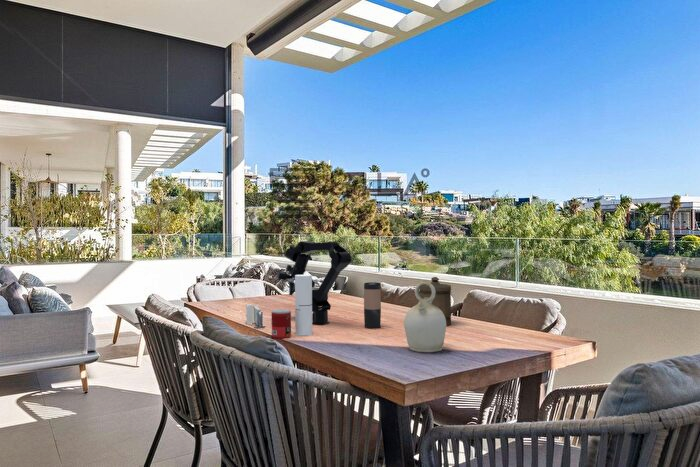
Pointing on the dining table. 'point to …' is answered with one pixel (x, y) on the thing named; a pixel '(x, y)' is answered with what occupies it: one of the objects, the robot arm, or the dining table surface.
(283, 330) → the canned food
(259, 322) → the hinge post
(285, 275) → the robot arm
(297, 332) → the cylindrical container
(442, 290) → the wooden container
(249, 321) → the latch post
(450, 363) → the dining table surface
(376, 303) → the travel mug
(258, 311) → the gate
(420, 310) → the jug
